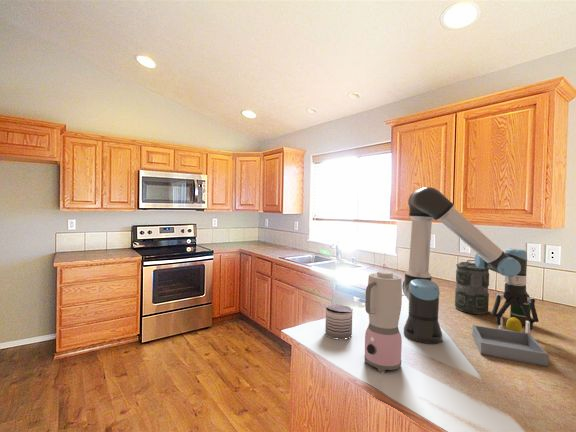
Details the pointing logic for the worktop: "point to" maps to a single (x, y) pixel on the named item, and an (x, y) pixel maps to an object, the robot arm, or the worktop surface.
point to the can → (338, 321)
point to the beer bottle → (520, 312)
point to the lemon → (514, 324)
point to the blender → (383, 321)
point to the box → (509, 345)
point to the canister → (471, 288)
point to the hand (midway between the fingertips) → (513, 334)
